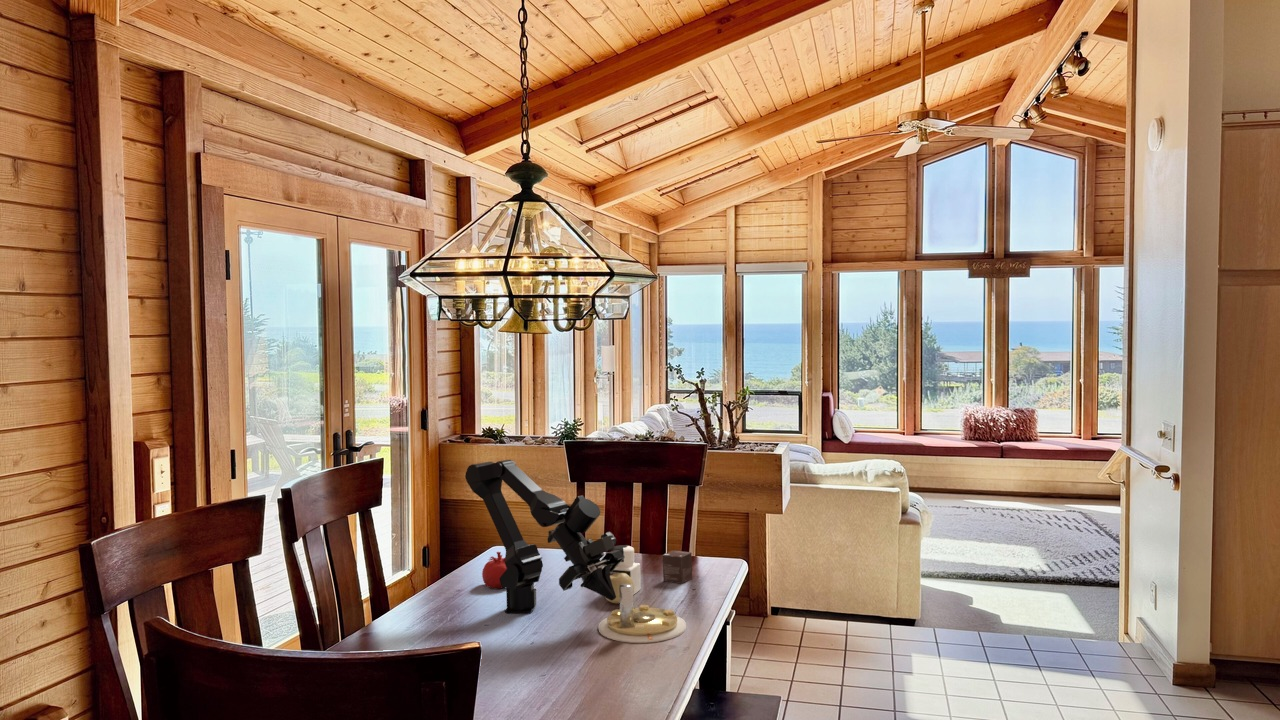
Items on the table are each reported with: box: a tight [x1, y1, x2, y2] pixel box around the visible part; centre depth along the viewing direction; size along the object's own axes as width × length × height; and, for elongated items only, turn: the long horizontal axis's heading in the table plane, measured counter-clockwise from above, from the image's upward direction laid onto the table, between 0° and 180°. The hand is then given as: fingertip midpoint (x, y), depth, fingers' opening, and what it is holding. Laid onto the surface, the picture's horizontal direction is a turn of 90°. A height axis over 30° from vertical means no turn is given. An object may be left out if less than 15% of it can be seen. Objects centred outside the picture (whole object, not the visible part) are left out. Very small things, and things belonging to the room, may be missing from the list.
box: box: [662, 549, 693, 584], centre depth 232 cm, size 6×6×7 cm
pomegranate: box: [481, 551, 507, 589], centre depth 230 cm, size 10×10×9 cm
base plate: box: [598, 615, 687, 644], centre depth 193 cm, size 20×20×1 cm
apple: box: [604, 573, 634, 604], centre depth 213 cm, size 8×8×8 cm
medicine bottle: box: [610, 544, 642, 596], centre depth 221 cm, size 7×7×12 cm
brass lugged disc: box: [606, 584, 677, 636], centre depth 193 cm, size 16×16×10 cm
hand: (614, 599), depth 191 cm, fingers closed
